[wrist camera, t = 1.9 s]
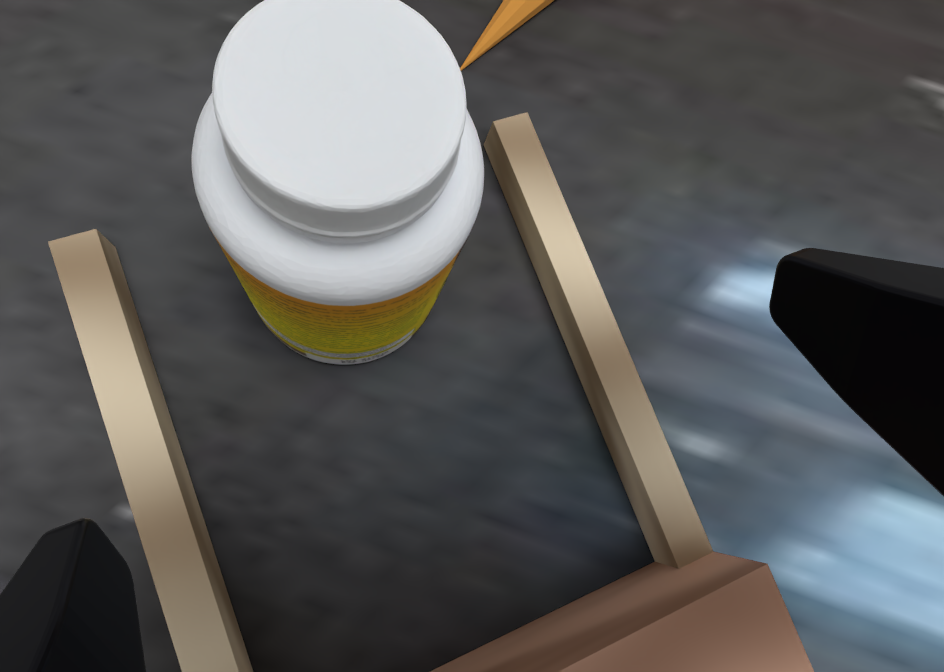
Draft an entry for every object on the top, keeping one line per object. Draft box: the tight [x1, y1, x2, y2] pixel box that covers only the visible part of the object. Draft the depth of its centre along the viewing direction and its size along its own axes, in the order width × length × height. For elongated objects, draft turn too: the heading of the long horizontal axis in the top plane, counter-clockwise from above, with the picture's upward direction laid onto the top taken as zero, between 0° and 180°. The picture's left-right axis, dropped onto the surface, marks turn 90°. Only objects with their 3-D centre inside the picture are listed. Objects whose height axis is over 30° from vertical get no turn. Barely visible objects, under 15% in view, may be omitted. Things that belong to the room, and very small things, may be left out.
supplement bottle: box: [192, 0, 484, 365], centre depth 15 cm, size 6×6×10 cm
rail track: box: [48, 113, 814, 672], centre depth 17 cm, size 18×14×4 cm
